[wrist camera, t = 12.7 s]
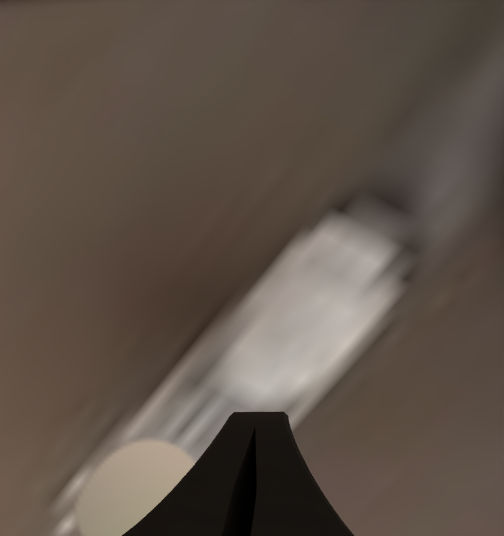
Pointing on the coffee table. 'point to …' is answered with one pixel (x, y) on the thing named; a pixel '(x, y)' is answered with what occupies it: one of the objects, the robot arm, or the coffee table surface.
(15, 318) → the coffee table surface
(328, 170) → the coffee table surface
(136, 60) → the coffee table surface
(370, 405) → the coffee table surface
